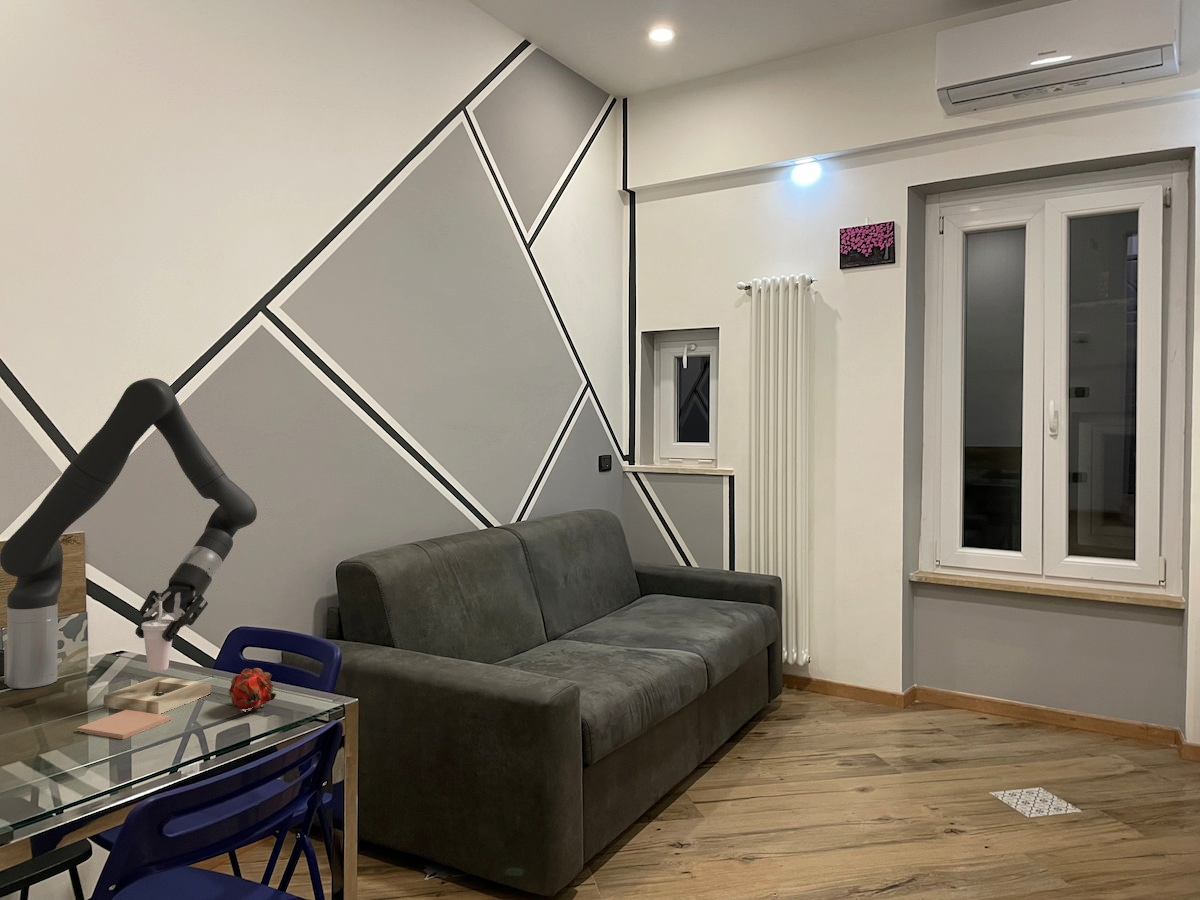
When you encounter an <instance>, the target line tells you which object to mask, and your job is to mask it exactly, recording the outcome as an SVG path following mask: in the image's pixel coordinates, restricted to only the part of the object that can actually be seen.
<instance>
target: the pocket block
mask: <svg viewBox="0 0 1200 900" xmlns="http://www.w3.org/2000/svg"><path fill="white" fill-rule="evenodd" d="M158 692H162V693H167V694H162V695H159V696H157V695H156V694H155V693H158ZM210 693H211V694H212V683H211V682H205V681H198V680H197V681H196V680H191V679H190V680H189V679H182V678H174V677H165V676H159V675H158V676H155V677H152V678H150V679H147V680H144V681H141V682H138V683H135V684H131V685H129V686H125V687H122V688H121V689H117V690H114V691H111V692H107V693H105V694H103V708H108V709H115V710H119V711H124V710H132V711H139V712H146V713H153V714H160V715H162V714H161V713H163V714H165V713H167V712H166V711H168V712H170V711H172V710H171V709H173V710H175V709H178V708H180V707H179V706H181V707H183V706H185V705H184V704H186V705H188V704H190V702H191V703H193V702H192V701H194V702H196V701H198V700H197V699H199V698H201V697H203V696H206V695H208V694H210ZM153 694H155V695H153ZM158 694H159V693H158ZM151 695H152V696H151ZM206 697H207V696H206ZM201 699H202V698H201ZM195 700H196V701H195ZM199 700H200V699H199ZM182 705H183V706H182ZM177 707H178V708H177ZM174 708H175V709H174ZM169 710H170V711H169ZM164 712H165V713H164Z"/></svg>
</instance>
